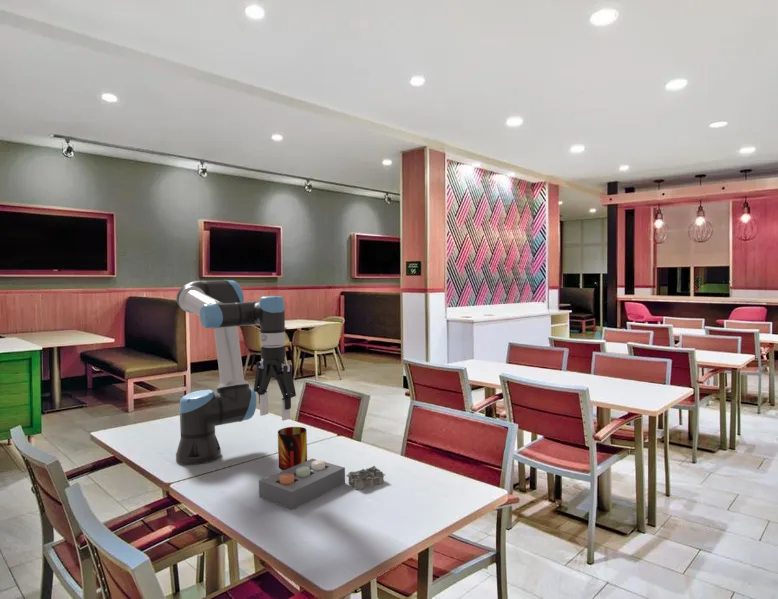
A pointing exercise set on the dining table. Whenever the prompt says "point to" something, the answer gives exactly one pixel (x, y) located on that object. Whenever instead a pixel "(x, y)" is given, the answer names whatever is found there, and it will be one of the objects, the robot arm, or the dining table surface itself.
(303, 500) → the console
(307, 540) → the dining table surface
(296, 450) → the mug
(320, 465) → the cream button
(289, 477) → the rust button
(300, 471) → the sage button
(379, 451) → the dining table surface
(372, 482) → the egg carton
